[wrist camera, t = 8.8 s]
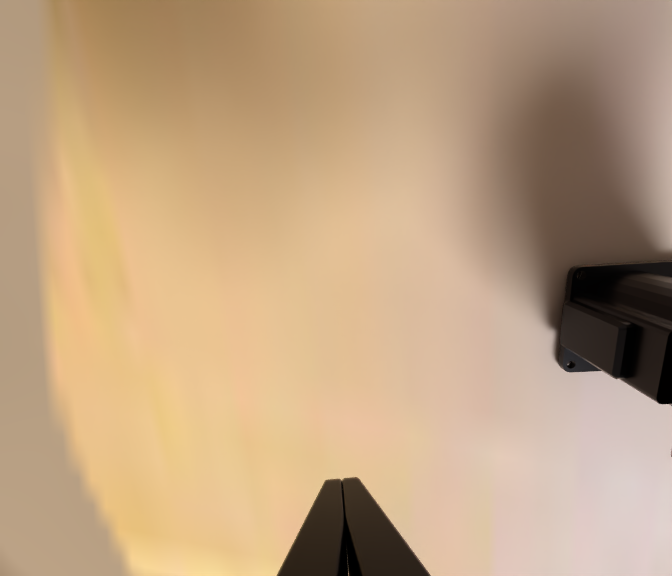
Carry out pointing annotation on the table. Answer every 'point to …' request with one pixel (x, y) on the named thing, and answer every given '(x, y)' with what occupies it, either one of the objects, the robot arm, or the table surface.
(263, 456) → the table surface
